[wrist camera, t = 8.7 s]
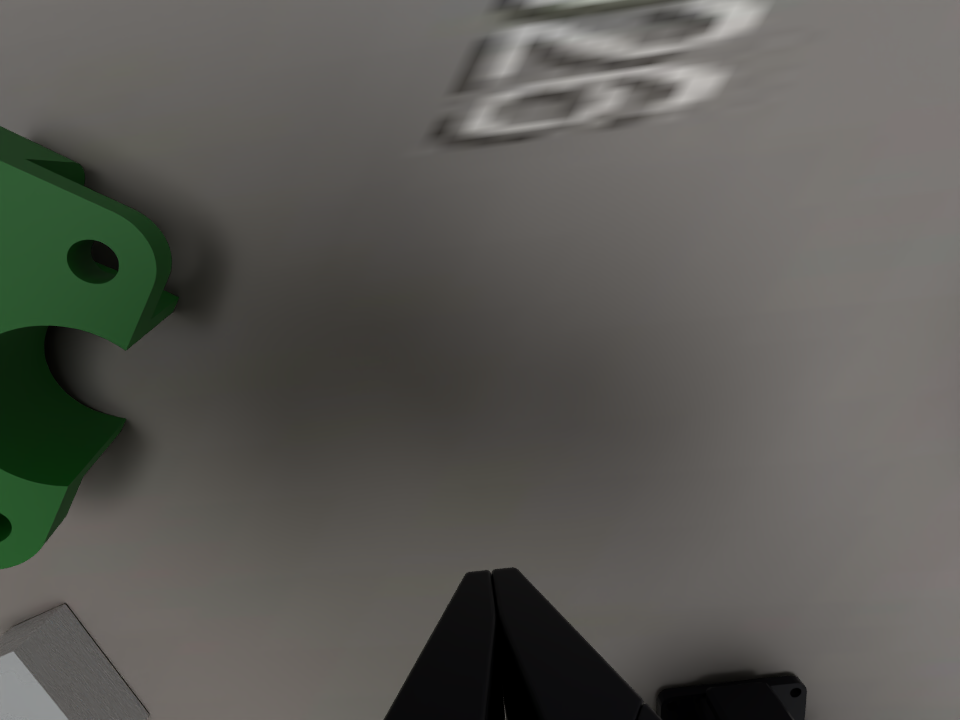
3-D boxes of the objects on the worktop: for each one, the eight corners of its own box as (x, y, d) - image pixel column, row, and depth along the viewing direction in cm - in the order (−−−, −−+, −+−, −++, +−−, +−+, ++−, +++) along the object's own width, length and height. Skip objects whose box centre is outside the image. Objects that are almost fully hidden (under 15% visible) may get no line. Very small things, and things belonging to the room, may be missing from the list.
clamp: (152, 401, 23) (23, 604, 16) (-9, 347, 20) (-243, 558, 13) (231, 175, 17) (78, 343, 10) (15, 62, 14) (-392, 175, 7)
